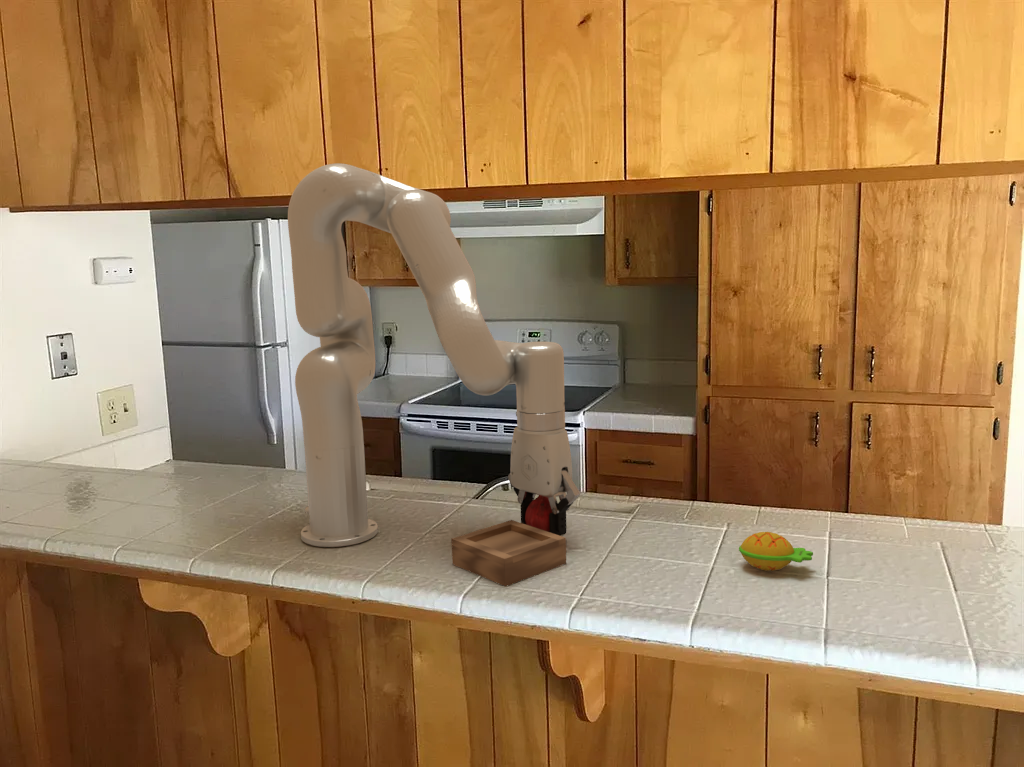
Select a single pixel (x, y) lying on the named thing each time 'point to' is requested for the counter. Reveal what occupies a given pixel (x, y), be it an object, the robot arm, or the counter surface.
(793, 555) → the toy pineapple
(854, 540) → the counter surface
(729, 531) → the counter surface
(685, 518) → the counter surface
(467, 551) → the base
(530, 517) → the onion
